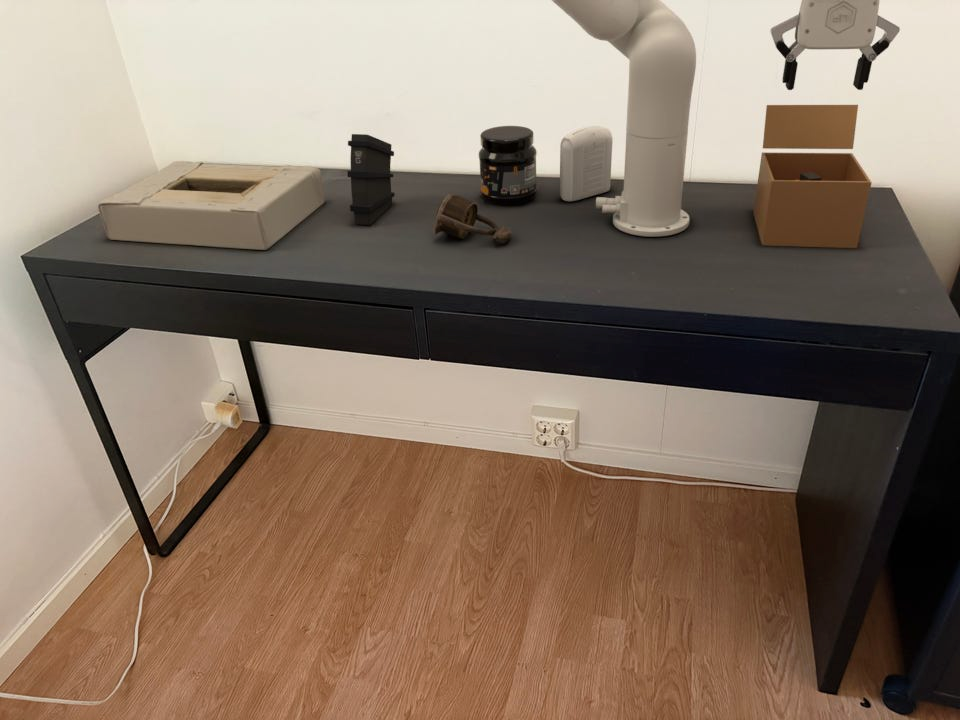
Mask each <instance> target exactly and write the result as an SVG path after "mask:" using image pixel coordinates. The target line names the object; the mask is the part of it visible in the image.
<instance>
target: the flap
mask: <svg viewBox="0 0 960 720" xmlns="http://www.w3.org/2000/svg"><path fill="white" fill-rule="evenodd" d="M858 110H859V104H766V108H765V118H764V129H763V140H762V149H767V150H768V149H769V150H770V149H771V150H775V149H777V150H779V149H781V150H782V149H783V150H787V149H788V150H791V149H792V150H854V144H855V135H856V127H857V120H858V119H857V118H858Z"/></svg>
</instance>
